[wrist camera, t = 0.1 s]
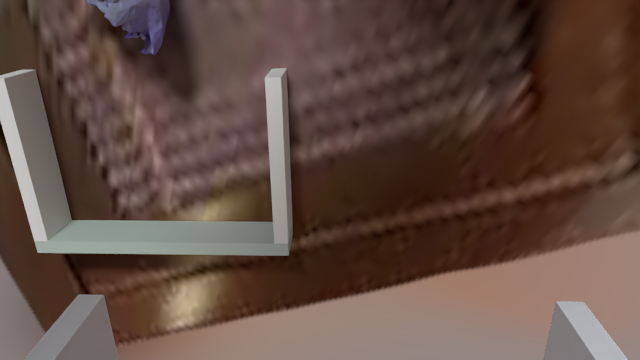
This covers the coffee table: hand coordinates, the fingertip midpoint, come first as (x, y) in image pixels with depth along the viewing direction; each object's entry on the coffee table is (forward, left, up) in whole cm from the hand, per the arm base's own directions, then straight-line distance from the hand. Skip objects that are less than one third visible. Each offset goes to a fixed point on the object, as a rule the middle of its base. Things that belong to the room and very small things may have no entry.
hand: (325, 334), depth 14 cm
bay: (+4, -15, -28) cm, 32 cm away
